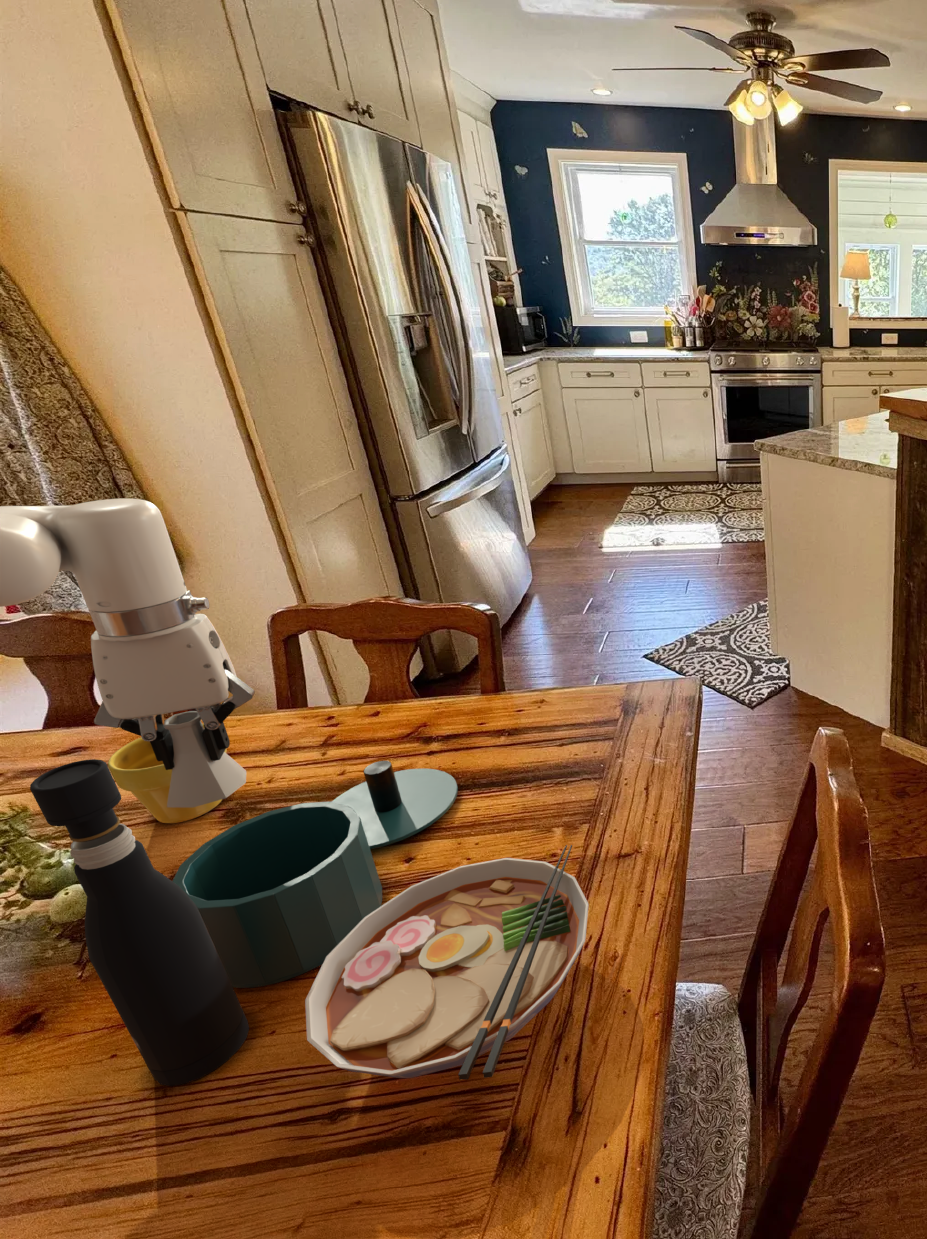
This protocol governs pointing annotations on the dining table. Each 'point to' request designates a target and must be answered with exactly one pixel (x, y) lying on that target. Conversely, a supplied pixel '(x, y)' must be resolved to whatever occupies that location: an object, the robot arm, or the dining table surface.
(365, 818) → the lid
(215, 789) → the flask
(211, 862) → the pot
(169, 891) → the dark water bottle
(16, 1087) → the dining table surface
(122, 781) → the flower pot
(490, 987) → the ramen bowl
